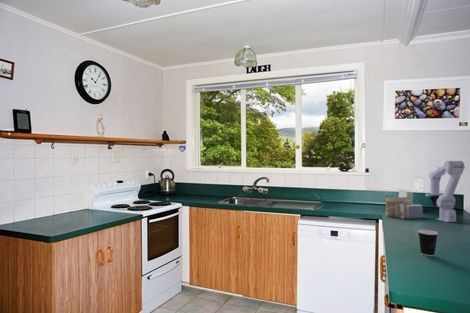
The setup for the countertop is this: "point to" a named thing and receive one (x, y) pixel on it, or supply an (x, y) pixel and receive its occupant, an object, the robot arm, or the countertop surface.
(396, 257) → the countertop surface
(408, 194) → the skincare box
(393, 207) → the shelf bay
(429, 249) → the dixie cup
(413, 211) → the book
